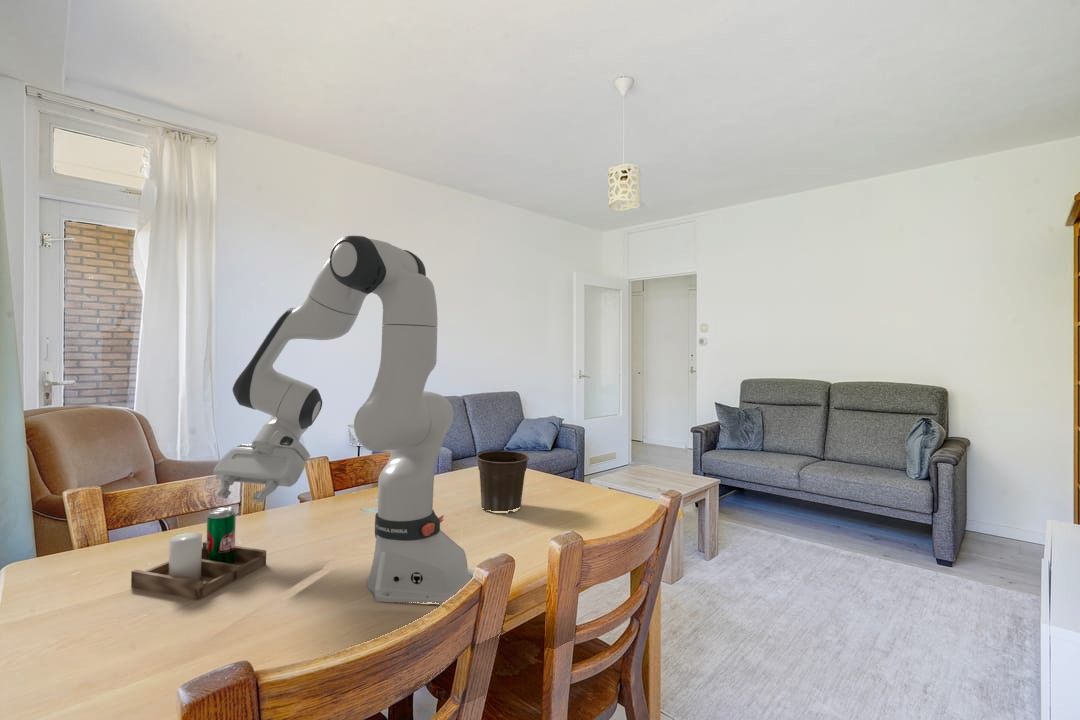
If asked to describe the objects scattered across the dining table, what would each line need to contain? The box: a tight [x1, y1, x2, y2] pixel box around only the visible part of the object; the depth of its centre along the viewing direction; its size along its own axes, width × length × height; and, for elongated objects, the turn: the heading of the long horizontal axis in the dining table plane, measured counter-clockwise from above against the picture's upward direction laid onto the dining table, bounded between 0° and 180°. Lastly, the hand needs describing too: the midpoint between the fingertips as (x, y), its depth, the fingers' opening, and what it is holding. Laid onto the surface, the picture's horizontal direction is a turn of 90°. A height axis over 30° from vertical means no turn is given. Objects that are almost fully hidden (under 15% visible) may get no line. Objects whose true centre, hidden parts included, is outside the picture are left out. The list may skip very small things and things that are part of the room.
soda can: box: [206, 506, 237, 564], centre depth 104 cm, size 5×5×12 cm
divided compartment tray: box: [130, 540, 267, 601], centre depth 100 cm, size 16×16×4 cm
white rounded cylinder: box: [168, 532, 203, 581], centre depth 96 cm, size 5×5×9 cm
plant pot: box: [476, 450, 530, 511], centre depth 152 cm, size 16×16×16 cm
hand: (239, 498), depth 108 cm, fingers open, 8 cm apart
